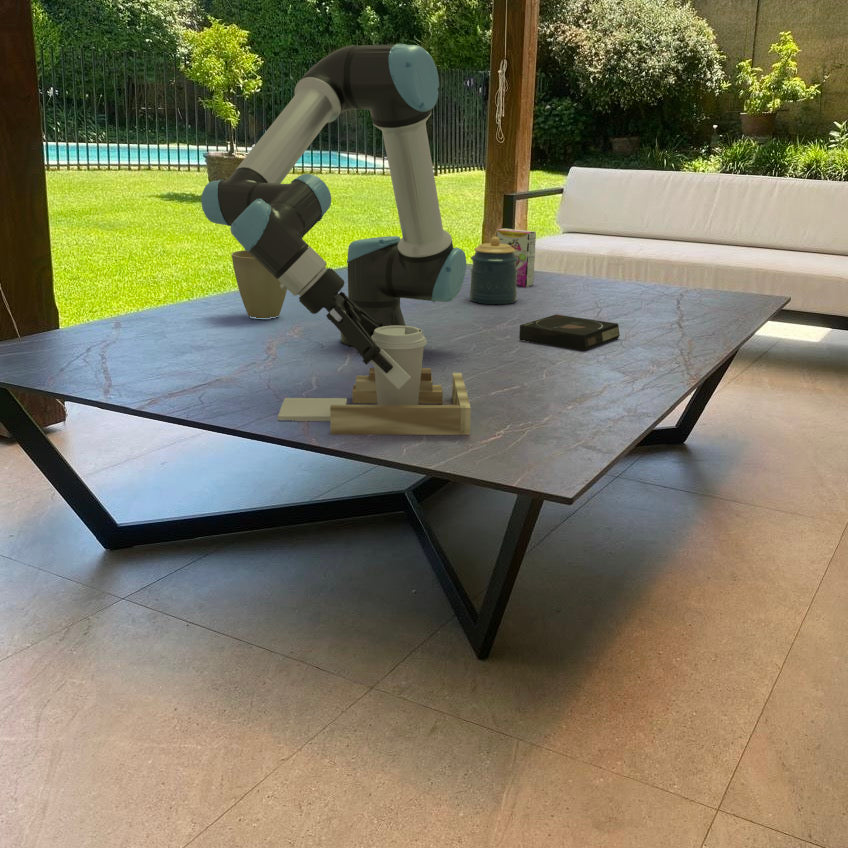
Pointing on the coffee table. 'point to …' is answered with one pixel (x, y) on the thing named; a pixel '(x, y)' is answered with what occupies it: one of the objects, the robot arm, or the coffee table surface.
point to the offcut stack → (367, 392)
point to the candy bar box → (521, 252)
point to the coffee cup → (400, 363)
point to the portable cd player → (569, 332)
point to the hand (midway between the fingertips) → (404, 372)
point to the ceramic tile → (308, 408)
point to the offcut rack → (406, 417)
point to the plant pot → (257, 286)
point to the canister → (494, 273)
